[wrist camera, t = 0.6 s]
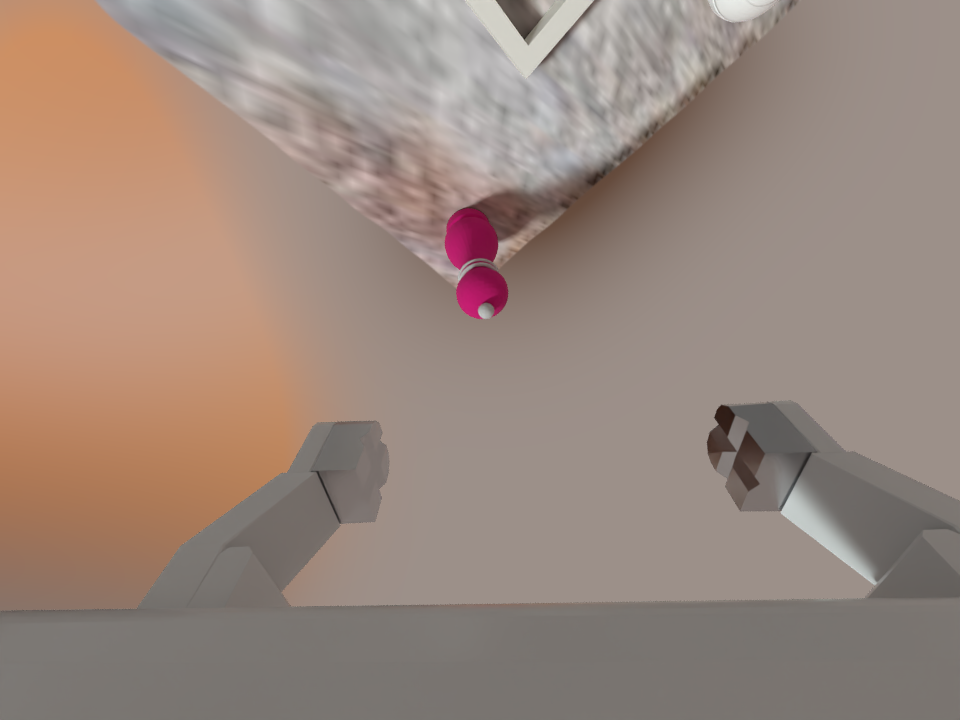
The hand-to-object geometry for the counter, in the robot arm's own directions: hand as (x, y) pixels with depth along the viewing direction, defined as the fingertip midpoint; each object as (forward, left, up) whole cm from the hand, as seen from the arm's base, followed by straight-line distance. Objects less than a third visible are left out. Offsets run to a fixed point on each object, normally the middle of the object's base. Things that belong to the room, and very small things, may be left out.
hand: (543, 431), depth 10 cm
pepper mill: (+15, -12, -48) cm, 52 cm away
